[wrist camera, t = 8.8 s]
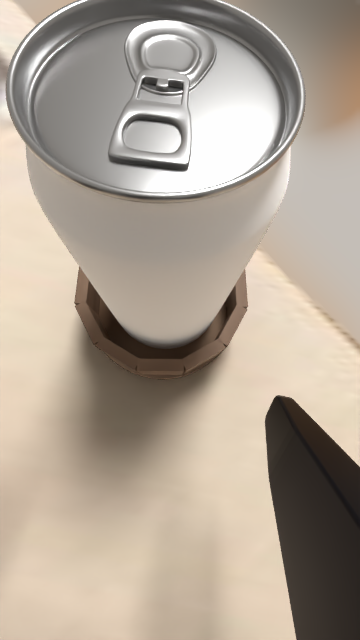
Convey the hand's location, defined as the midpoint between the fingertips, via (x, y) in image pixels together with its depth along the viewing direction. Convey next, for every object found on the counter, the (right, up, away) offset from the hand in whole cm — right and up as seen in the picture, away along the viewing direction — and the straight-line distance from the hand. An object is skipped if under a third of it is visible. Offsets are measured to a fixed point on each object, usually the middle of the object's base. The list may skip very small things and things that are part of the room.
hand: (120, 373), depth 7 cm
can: (+1, +3, +9) cm, 10 cm away
